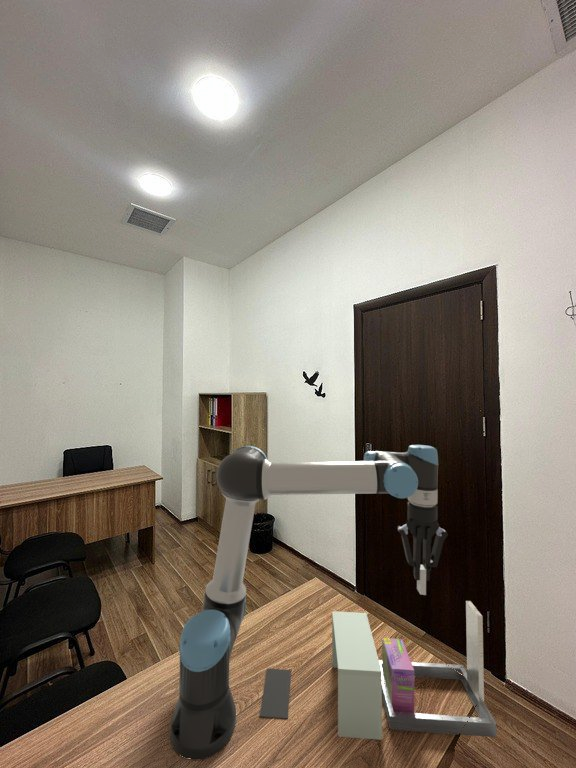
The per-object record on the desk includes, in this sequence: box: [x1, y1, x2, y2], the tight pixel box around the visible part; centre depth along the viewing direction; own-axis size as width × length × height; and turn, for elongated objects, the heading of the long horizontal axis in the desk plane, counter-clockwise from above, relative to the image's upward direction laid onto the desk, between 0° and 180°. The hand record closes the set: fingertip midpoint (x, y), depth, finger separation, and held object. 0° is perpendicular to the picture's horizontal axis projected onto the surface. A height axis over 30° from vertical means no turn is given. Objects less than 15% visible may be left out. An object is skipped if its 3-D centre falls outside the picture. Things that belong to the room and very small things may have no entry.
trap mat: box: [259, 667, 292, 720], centre depth 86 cm, size 7×14×1 cm, turn 176°
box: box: [381, 637, 415, 713], centre depth 84 cm, size 10×6×12 cm, turn 176°
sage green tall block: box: [331, 610, 383, 741], centre depth 85 cm, size 10×20×15 cm, turn 176°
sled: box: [379, 600, 498, 738], centre depth 84 cm, size 24×16×24 cm
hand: (421, 591), depth 87 cm, fingers closed
